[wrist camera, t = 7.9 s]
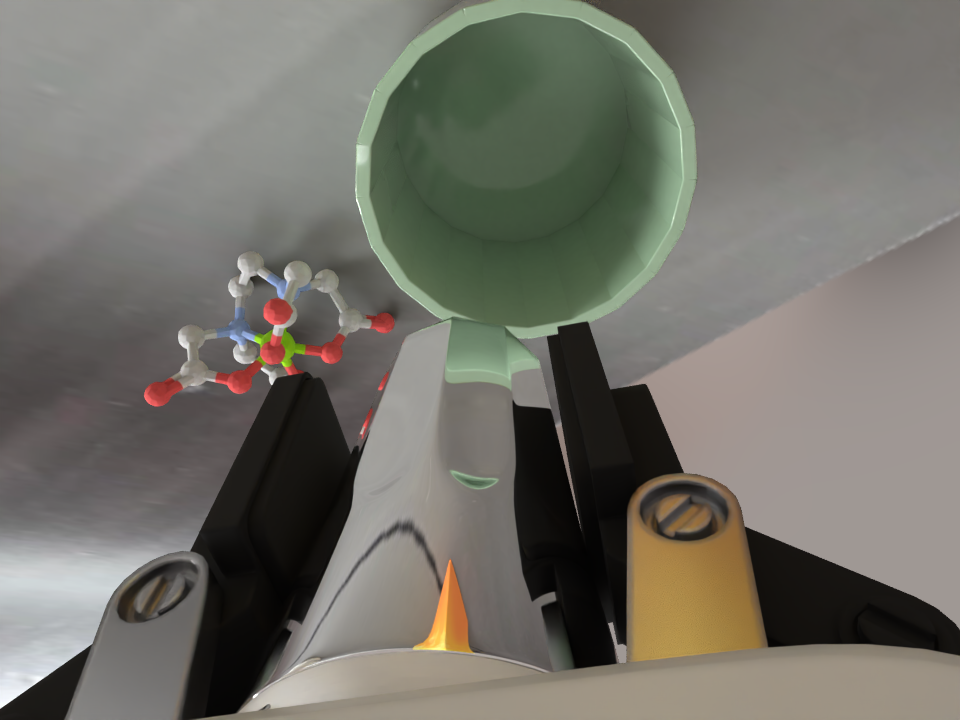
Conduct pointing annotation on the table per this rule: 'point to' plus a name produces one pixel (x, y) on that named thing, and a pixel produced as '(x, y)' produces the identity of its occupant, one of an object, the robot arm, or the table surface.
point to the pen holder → (526, 164)
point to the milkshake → (441, 539)
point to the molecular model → (274, 343)
